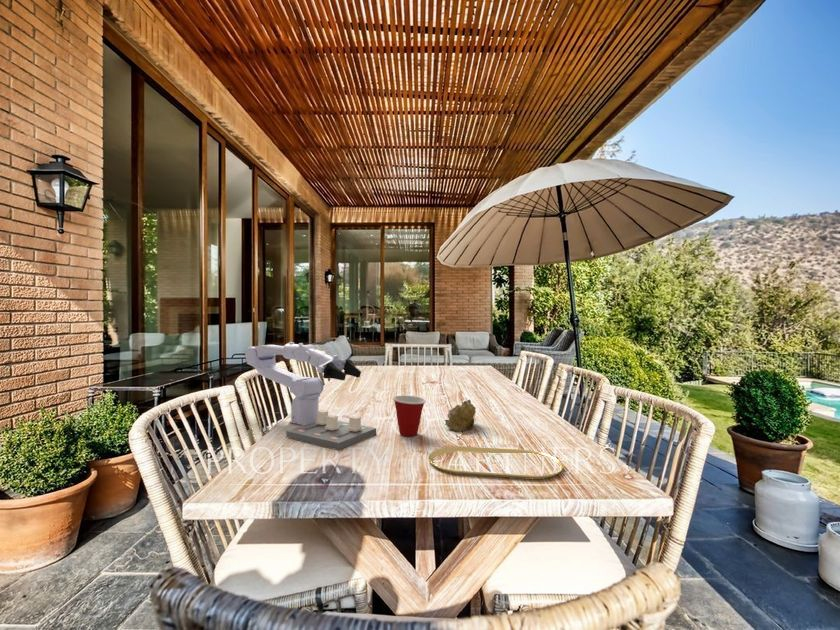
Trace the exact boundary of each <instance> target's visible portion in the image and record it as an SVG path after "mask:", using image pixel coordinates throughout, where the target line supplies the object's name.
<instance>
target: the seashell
mask: <svg viewBox="0 0 840 630" xmlns="http://www.w3.org/2000/svg"><path fill="white" fill-rule="evenodd" d="M476 408H477V407H476V406H474V404H473V403H472V402H471V399H468V400H464V401H463V402H462V403H461V405H460V404H457V405H455V406H454V407H453V408H452V409H450V410H449V412H448V414H447V418H448V419H444V420H445V426H446V427H448V428H449V429H451V430H452V431H455V432H464V431H465V432H466V431H470V430H471V431H472V430H474V428H475V426H474V424H475V418H474V417H475V414H476V413H477V412H476Z"/></svg>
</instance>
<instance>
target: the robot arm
mask: <svg viewBox="0 0 840 630" xmlns="http://www.w3.org/2000/svg"><path fill="white" fill-rule="evenodd" d="M244 354H245V355H244V357H245V359H246V360H245V361H246V363H247V365H249V366H252V367H253V368H254V369H255V371H257V373H258V374H259V375H260V376H262V377H264V378H266V379H268V380H271V381H273V382H275V383H277V384H280V385H282V386H285V387H287V388H289V392H290V393H292V394H293V395H294V396H295V397H294V398H293V399H292V401H291V405H290V409H291V410H290V411H291V412H290V420H289V421H290V422H293V423H292V424H295V423H297V424H296V425H300V424H301V425H300V426H304V425H307V424H310V423H314V422H316V421H317V411H320V410H319V408H320V407H319V406H320V405H319V402H320V401H319V399H320V398H319V397H321V394H322V393H323V392H324V382H323V381H322V379H321V378H320V377H318V376H317V377H309V376H301V375H299V374H296V373H293V372H290V371H289V370H286V369H283V368H282V367H278V366H276V365H277V363H276V362H277V360H276V356H279V355H280V356H282V357H283V358H284V359H286V360H293V361H295V360H296V361H297V362H298V363H304V362H305V363H307V364H309V365H311V366H313V367H315V368H317V369H316V372H317V373H319V374H323V375H322V377H323V378H324V379H334V380H339V381H345V380H346V376H351V377H355V378H361V374H362V371H361V370H360V369H359V368H358V367H356V365H355V364H354V361H353V360H351V359H346V360H342V359H340V358H339V355H337V354H335V355H334V354H333V356H332V355H329V354H328V353H325V352H323V351H321V350H320V349H318V348H317V346H315V345H314V344H312V343H310V344H304V343H303V342H300V343H298V344H297V343H295V342H293V341H289V342H288V343H286V344H284V345H279V344H277V345H276V344H263V345H254V346H248V347H247V348H246V349H245V352H244ZM342 370H343V371H342ZM290 422H289V423H290Z"/></svg>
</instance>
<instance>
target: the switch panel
mask: <svg viewBox="0 0 840 630" xmlns="http://www.w3.org/2000/svg"><path fill="white" fill-rule="evenodd" d="M325 426H326V424H325V425H320V424H316V422H314V423H310V424H307V425H300V426H299V427H294V428H292V429H291V428H290V429H288V430H286V432H285V434H286V435H285V437H286V438H287V437H288V438H289V439H292V440H297V441H301V442H305V443H308V444H313V445H317V446H322V447H325V446H326V447H325V448H329V447H330V448H329V449H333V448H334V449H333V450H336V451H337V450H338V451H339V450H341V449H344V448H346V447H349V446H351V445H354V444H356V443H359V442H361V441H364V440H365V439H369V438H371V437H372V436H373V437H374V436H375V435H377V428H376V427H373V426H367V425H361V427H362V430H359V431H356V432H354V431H349V430H348V427H349V422H347V421H341V420H338V426H339V428H338V429H335V430H333V431H332V430H327V429H325ZM288 438H287V439H288Z"/></svg>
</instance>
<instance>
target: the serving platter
mask: <svg viewBox="0 0 840 630" xmlns="http://www.w3.org/2000/svg"><path fill="white" fill-rule="evenodd" d="M457 451H462V452H461V453H468V452H473V453H472V454H484V453H488V452H489V453H534V454H539V455H542V456H546V457H549V458H551V459H553V460H554V461H556V462H557V463H558V464H559V465H560V470H559V471H558V472H557V473H556V472H554V473H552V474H545V475H529V474H528V475H527V474H526V475H525V474H524V475H523V474H513V473H498V472H497V473H495V472H483V471H481V472H480V471H470V470H469V471H467V470H457V469H456V470H455V469H450V468H449V469H448V468H446V467H442V466H439V465H437V464H436V463H435V460H434V458H435V457H436V456H438V455H440V456H441V454H442V455H445V454H444V453H446V454H450V453H449V452H452V453H458V452H457ZM438 457H439V456H438ZM436 458H437V457H436ZM436 458H435V459H436ZM427 459H428V461H429V463H430V464H431V465H432V466H433V467H434V468H435V469H437V468H438V469H437V470H439V469H440V470H439V471H442V472H445V473H448V472H449V474H453V473H455V474H454V475H461V474H465V476H475V477H476V476H478V477H490V476H493V477H492V478H505V477H514V478H513V479H519V478H531V479H530V480H540V479H539V478H547V479H549V478H548V477H551V478H553V477H552V476H554V477H556V476H557V474H558V475H559V474H560V473H561V472H562V471H563V469H564V465H563V463H562V461H561V460H559V459H557V457H554V456H551V455H549V454H546V453H544V452H540V451H534V450H527V449H515V448H513V449H512V448H497V447H496V448H495V447H478V446H462V445H461V446H459V445H457V446H456V445H455V446H446V447H439V448H438V449H435V450H433V451H432V452H430V453H429V455H428V458H427ZM433 461H434V462H433ZM434 463H435V464H434ZM555 475H556V476H555ZM532 478H533V479H532Z"/></svg>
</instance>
